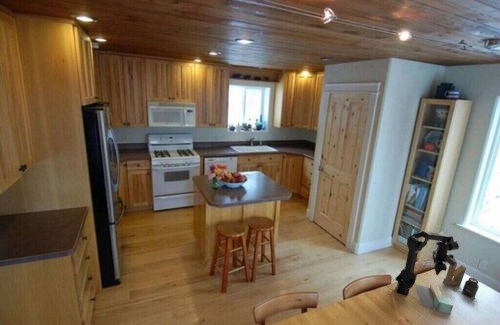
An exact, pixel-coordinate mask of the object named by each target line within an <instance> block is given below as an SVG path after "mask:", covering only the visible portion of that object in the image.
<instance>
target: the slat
mask: <svg viewBox="0 0 500 325" xmlns="http://www.w3.org/2000/svg"><path fill="white" fill-rule="evenodd" d="M429 288H430V290H431V292H432V294H433V296H434V299H435V297H436V295H438V296H442V297H444V296H443V295H442V292H441V290H440V288H439V286H438V284H435V283H430V286H429Z"/></svg>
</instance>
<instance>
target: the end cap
mask: <svg viewBox="0 0 500 325" xmlns="http://www.w3.org/2000/svg"><path fill="white" fill-rule="evenodd" d="M442 296H443V295H442ZM442 296H438V295H436V297H435V300H434V305H435V308H436V310H435V311H438V312H441V313H442V312H443V313H446V314H450V315H452V310H453V307H454V304H453V302H452V300H451V299H450V298H449V297H445V296H443V297H442Z"/></svg>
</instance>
